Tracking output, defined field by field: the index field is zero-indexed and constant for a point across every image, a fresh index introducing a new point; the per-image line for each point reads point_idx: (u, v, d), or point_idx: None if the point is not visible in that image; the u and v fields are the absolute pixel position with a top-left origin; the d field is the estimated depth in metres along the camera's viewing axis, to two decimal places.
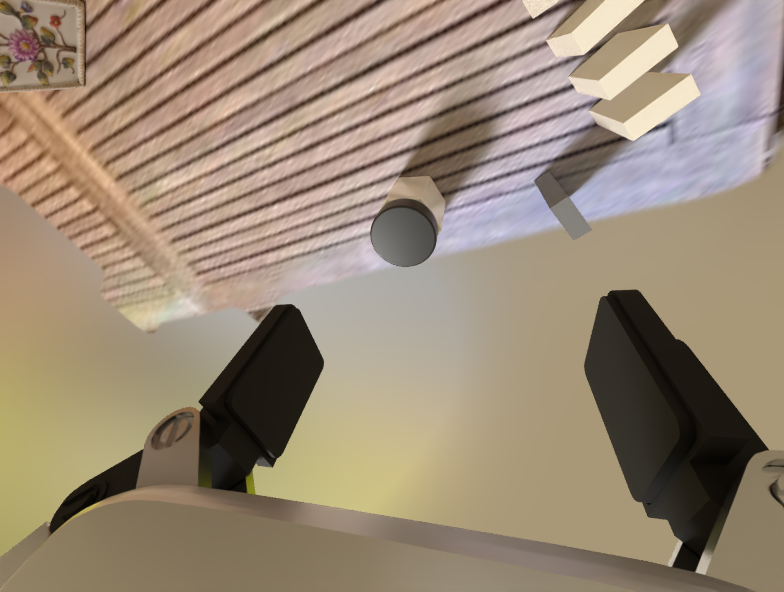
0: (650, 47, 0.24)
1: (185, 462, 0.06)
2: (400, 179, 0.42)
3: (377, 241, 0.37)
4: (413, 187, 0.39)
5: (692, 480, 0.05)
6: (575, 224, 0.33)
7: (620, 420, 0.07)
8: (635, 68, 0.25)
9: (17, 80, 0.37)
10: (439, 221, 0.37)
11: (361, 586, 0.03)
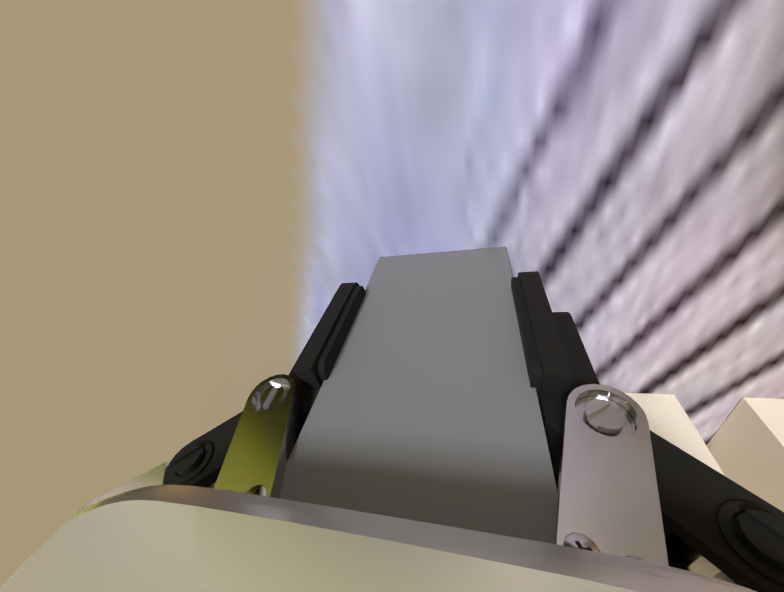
0: None
1: (273, 434, 0.06)
2: None
3: None
4: None
5: (542, 413, 0.06)
6: None
7: None
8: None
9: None
10: None
11: (361, 586, 0.03)
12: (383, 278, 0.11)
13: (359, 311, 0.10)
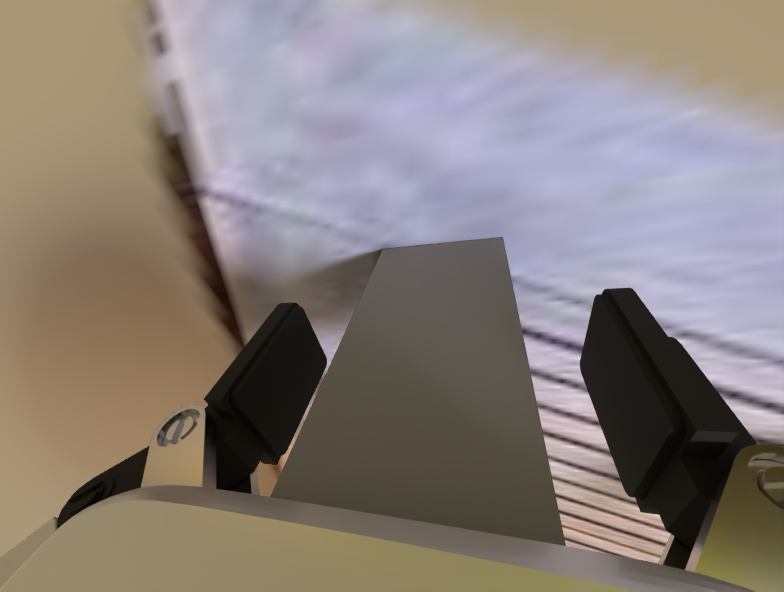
0: None
1: (190, 459, 0.06)
2: None
3: None
4: None
5: (681, 474, 0.05)
6: None
7: (614, 416, 0.07)
8: None
9: None
10: None
11: (361, 586, 0.03)
12: (387, 267, 0.12)
13: (364, 297, 0.10)
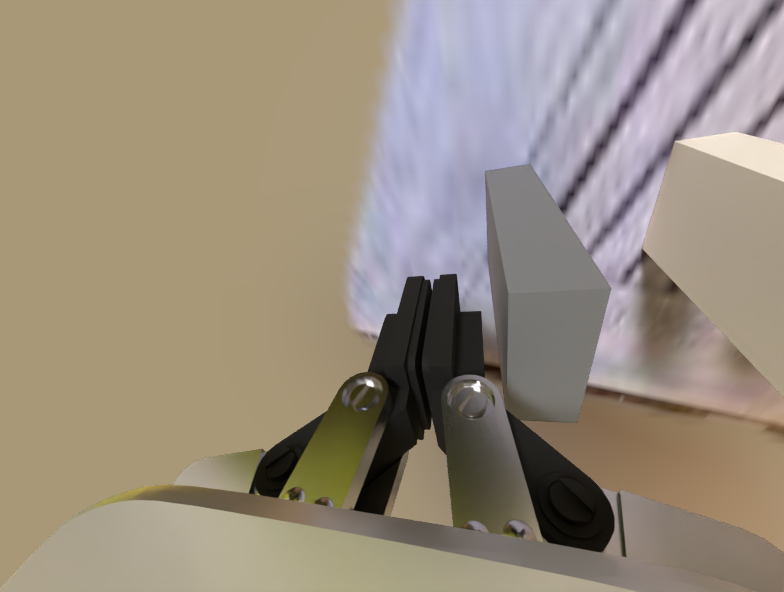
0: None
1: (354, 444, 0.06)
2: None
3: None
4: None
5: (432, 401, 0.07)
6: (544, 387, 0.08)
7: None
8: None
9: None
10: None
11: (361, 586, 0.03)
12: (489, 267, 0.16)
13: (492, 295, 0.15)
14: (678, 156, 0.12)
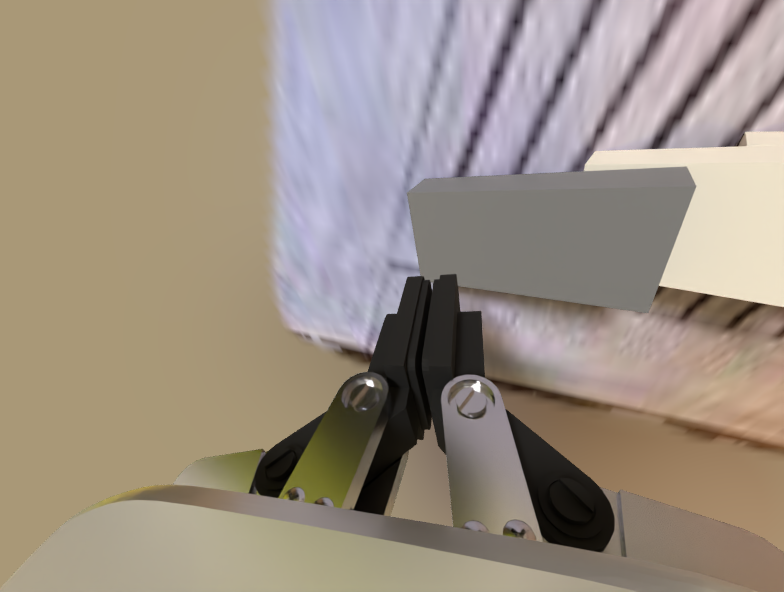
0: None
1: (354, 444, 0.06)
2: None
3: None
4: None
5: (432, 401, 0.07)
6: None
7: None
8: None
9: None
10: None
11: (361, 586, 0.03)
12: None
13: (485, 287, 0.15)
14: None
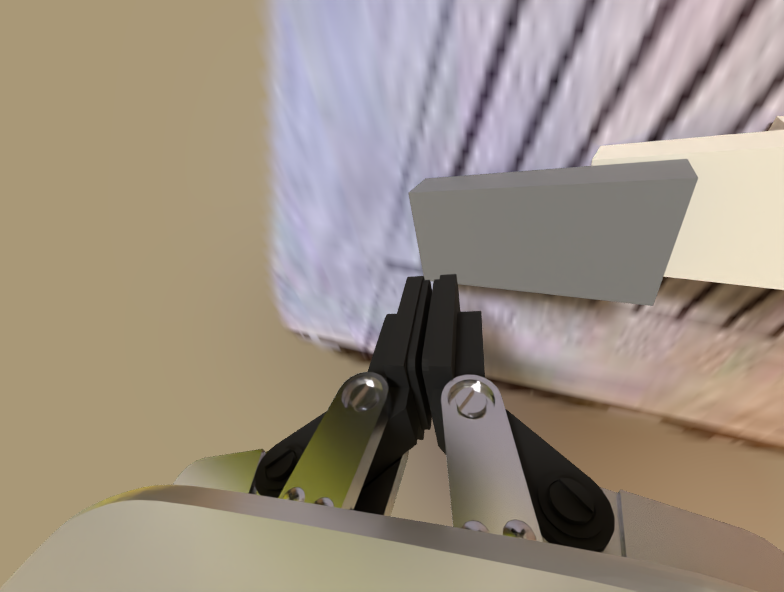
0: None
1: (354, 444, 0.06)
2: None
3: None
4: None
5: (433, 401, 0.07)
6: None
7: None
8: None
9: None
10: None
11: (361, 586, 0.03)
12: None
13: (488, 285, 0.15)
14: None
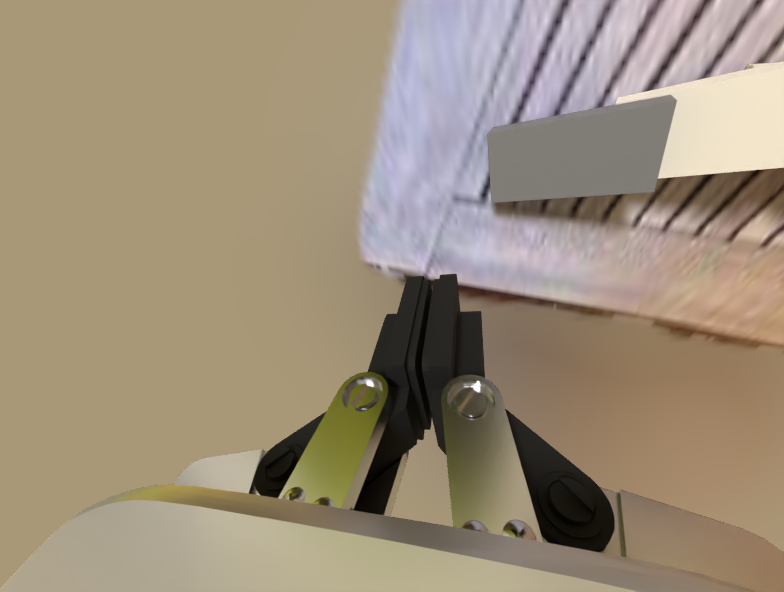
0: None
1: (353, 444, 0.06)
2: None
3: None
4: None
5: (432, 401, 0.07)
6: None
7: None
8: None
9: None
10: None
11: (361, 586, 0.03)
12: (513, 194, 0.23)
13: (541, 197, 0.22)
14: None
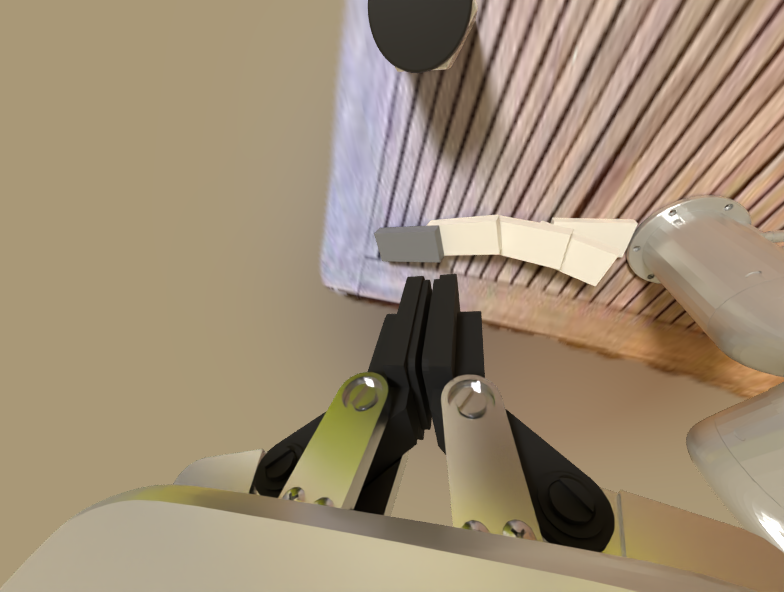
0: (564, 256, 0.40)
1: (354, 444, 0.06)
2: (473, 24, 0.31)
3: None
4: (458, 50, 0.29)
5: (432, 401, 0.07)
6: (440, 249, 0.44)
7: None
8: (566, 249, 0.39)
9: None
10: None
11: (361, 586, 0.03)
12: (390, 258, 0.48)
13: (401, 260, 0.48)
14: None
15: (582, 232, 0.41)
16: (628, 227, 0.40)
